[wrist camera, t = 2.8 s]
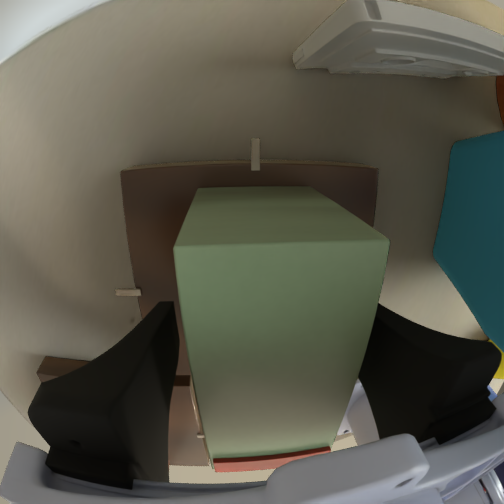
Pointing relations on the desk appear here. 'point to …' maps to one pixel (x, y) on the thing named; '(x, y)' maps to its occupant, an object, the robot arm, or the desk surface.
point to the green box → (274, 318)
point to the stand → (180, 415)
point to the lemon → (503, 369)
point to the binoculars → (500, 94)
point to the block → (476, 229)
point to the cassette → (401, 42)
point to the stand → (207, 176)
